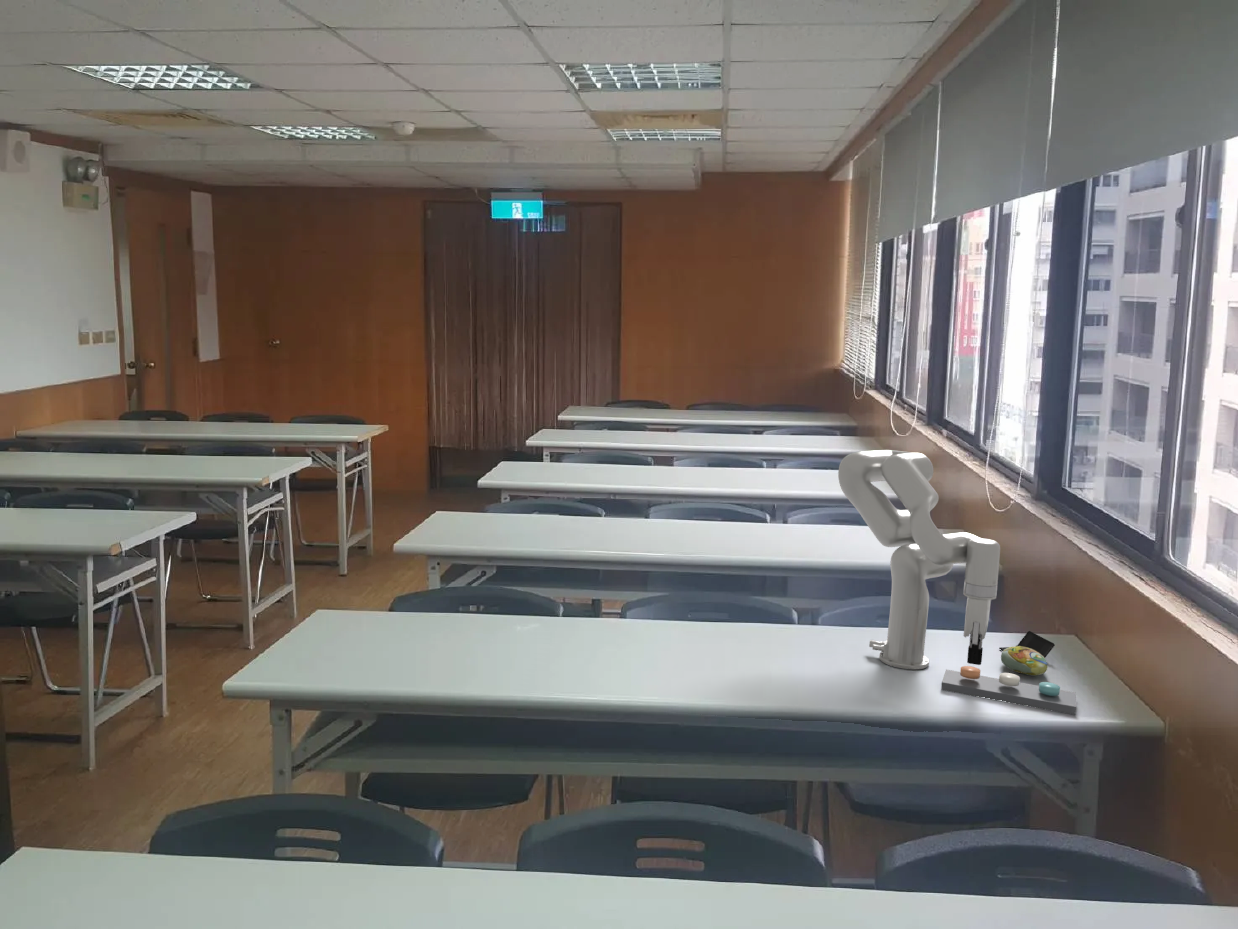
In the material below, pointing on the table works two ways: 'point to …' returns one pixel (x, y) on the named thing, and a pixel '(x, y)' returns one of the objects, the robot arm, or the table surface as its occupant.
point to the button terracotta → (970, 672)
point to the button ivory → (1009, 679)
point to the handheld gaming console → (1035, 643)
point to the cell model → (1024, 660)
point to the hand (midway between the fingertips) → (974, 663)
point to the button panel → (1009, 692)
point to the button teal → (1049, 688)
